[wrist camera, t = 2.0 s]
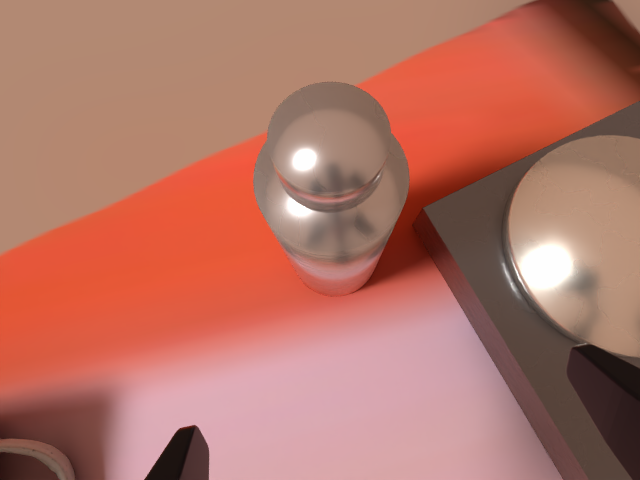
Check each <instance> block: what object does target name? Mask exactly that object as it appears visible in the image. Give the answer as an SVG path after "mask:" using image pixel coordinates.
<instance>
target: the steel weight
mask: <svg viewBox="0 0 640 480" xmlns="http://www.w3.org/2000/svg"><path fill="white" fill-rule="evenodd" d="M253 184H254V193H255V197H256V201H257V203H258V206H259V209H260V211H261V212H262V214H263V216H264V218H265V219H266V221H267V223H268V225H269V226H270V228H271V230H272V231H273V233H274V235H275V237H276V238H277V240H278V242H279V244H280V245H281V247H282V249H283V250H284V252H285V254H286V256H287V257H288V259H289V261H290V263H291V264H292V266H293V268H294V269H295V271H296V273H297V275H298V276H299V278H300V279H301V281H302V282H303V283H304V284H305V285H306V286H307V287H308V288H310V289H311V290H313V291H315V292H317V293H319V294H322V295H325V296H344V295H348V294H350V293H353V292H355V291H356V290H358V289H360V288H361V287H362V286H363V285H364V284H365V283H366V282H367V281H368V280H369V278H370V277H371V275H372V273H373V271H374V269H375V267H376V265H377V263H378V261H379V258H380V256H381V254H382V252H383V250H384V248H385V245H386V243H387V241H388V239H389V237H390V235H391V232H392V230H393V228H394V226H395V224H396V222H397V220H398V217H399V215H400V213H401V211H402V209H403V206H404V204H405V201H406V198H407V194H408V190H409V168H408V163H407V159H406V157H405V154H404V151H403V149H402V148H401V146H400V144H399V142H398V141H397V140H396V138H395V137H394V135H393V134H392V133H391V128H390V124H389V120H388V118H387V115H386V113H385V111H384V110H383V108H382V107H381V105H380V104H379V103H378V102H377V101H376V100H375V99H374V98H373V97H372V96H371V95H370V94H368V93H367V92H365V91H363V90H362V89H360V88H357V87H355V86H352V85H349V84H345V83H339V82H322V83H316V84H312V85H308V86H306V87H303V88H301V89H299V90H297V91H295V92H294V93H292V94H291V95H289V96H288V97H287V98H286V99H285V100H284V101H283V102H282V103H281V104H280V105H279V106H278V108H277V109H276V111H275V112H274V114H273V116H272V118H271V121H270V124H269V127H268V133H267V141H266V142H265V144H264V145H263V147H262V149H261V151H260V153H259V155H258V158H257V161H256V164H255V169H254V180H253Z"/></svg>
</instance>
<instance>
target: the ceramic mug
mask: <svg viewBox="0 0 640 480" xmlns="http://www.w3.org/2000/svg"><path fill="white" fill-rule="evenodd" d="M0 452H7V453H16V454H21V455H27V456H31V457H34V458H36V459H38V460H39V461H41V462H42V463H44V464H45V465H47V466H48V468H49V469H50V470H52V471H53V472H55V473H56V475H57V477H58V478H59V479H60V480H75V473H74V470H73V468H72V465H71V463H70V461H69V459H68V458H67V457H66V456H65V455H64V454H63V453H61V452H60V451H59V450H58V449H57V448H55V447H54V446H51V445H49V444H46V443H43V442H40V441H35V440H28V439H12V438H10V439H0Z"/></svg>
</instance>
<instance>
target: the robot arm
mask: <svg viewBox="0 0 640 480" xmlns="http://www.w3.org/2000/svg"><path fill="white" fill-rule="evenodd" d="M566 374H567V377H568V379H569V381H570V383H571V385H572V387H573V388H574V390H575V392H576V393H577V395H578V397H579V398H580V400H581V402H582V404H583V405H584V407H585V409H586V410H587V412H588V414H589V415H590V417H591V419H592V421H593V422H594V424H595V426H596V427H597V429H598V431H599V432H600V434H601V436H602V437H603V439H604V441H605V442H606V444H607V445H608V447H609V448H610V449H611V451H612V452H613V454H614V455H615V457H616V458H617V459H618V461H619V462H620V463H621V465H622V466H623V468H624V469H625V470H626V472H627V473H628V475H629V476H630V477H631V479H632V480H640V368H639V367H637V366H635V365H633V364H631V363H629V362H627V361H625V360H623V359H621V358H619V357H617V356H615V355H613V354H611V353H609V352H607V351H605V350H603V349H601V348H599V347H597V346H595V345H592V344H583V345H578V346H574V347H572V348H571V350H570V354H569V358H568V363H567V368H566ZM144 480H209V448H208V445H207V443H206V441H205V439H204V437H203V435H202V433H201V431H200V430H199V428H198V427H197V426H196V425H192V426H188V427H183V428H180V429H179V430H177V432H176V433H175V434H174V436H173V437H172V439H171V440H170V442H169V443H168V445H167V446H166V448H165V449H164V451H163V452H162V454H161V455H160V457H159V458H158V460H157V461H156V463H155V464H154V466H153V467H152V469H151V470H150V472H149V473H148V475H147V476H146V478H145V479H144Z"/></svg>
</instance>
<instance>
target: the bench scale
mask: <svg viewBox="0 0 640 480" xmlns="http://www.w3.org/2000/svg"><path fill="white" fill-rule="evenodd" d="M413 227H414V229H415V230H416V232H417V234H418V235H419V237H420V239H421V240H422V242H423V244H424V245H425V247H426V249H427V250H428V252H429V254H430V256H431V257H432V259H433V261H434V262H435V264H436V266H437V267H438V269H439V271H440V272H441V274H442V276H443V277H444V279H445V281H446V282H447V284H448V286H449V288H450V289H451V291H452V293H453V294H454V296H455V298H456V299H457V301H458V303H459V304H460V306H461V308H462V309H463V311H464V313H465V314H466V316H467V318H468V320H469V321H470V323H471V325H472V326H473V328H474V330H475V331H476V333H477V335H478V336H479V338H480V340H481V341H482V343H483V345H484V346H485V348H486V350H487V352H488V353H489V355H490V357H491V358H492V360H493V362H494V363H495V365H496V367H497V368H498V370H499V372H500V373H501V375H502V377H503V378H504V380H505V382H506V384H507V385H508V387H509V389H510V390H511V392H512V394H513V395H514V397H515V399H516V400H517V402H518V404H519V405H520V407H521V409H522V410H523V412H524V414H525V416H526V417H527V419H528V421H529V422H530V424H531V426H532V427H533V429H534V431H535V432H536V434H537V436H538V437H539V439H540V441H541V442H542V444H543V446H544V448H545V449H546V451H547V453H548V454H549V456H550V458H551V459H552V461H553V463H554V464H555V466H556V468H557V469H558V471H559V473H560V474H561V476H562V478H563V480H632V479H631V477H630V476H629V475H628V473H627V472H626V470H625V469H624V468H623V466H622V465H621V463H620V462H619V461H618V459H617V458H616V457H615V455H614V454H613V452H612V451H611V449H610V448H609V447H608V445H607V444H606V442H605V441H604V439H603V437H602V436H601V434H600V432H599V431H598V429H597V427H596V426H595V424H594V422H593V421H592V419H591V417H590V415H589V414H588V412H587V410H586V409H585V407H584V405H583V404H582V402H581V400H580V398H579V397H578V395H577V393H576V392H575V390H574V388H573V387H572V385H571V383H570V381H569V379H568V377H567V374H566V368H567V363H568V358H569V354H570V350H571V348H572V347H574V346H578V345H583V344H592V345H595V346H597V347H599V348H601V349H603V350H605V351H607V352H609V353H611V354H613V355H615V356H617V357H619V358H621V359H623V360H625V361H627V362H629V363H631V364H633V365H635V366H637V367H639V368H640V101H638V102H636V103H634V104H632V105H630V106H628V107H626V108H624V109H622V110H620V111H618V112H616V113H614V114H612V115H610V116H608V117H606V118H604V119H602V120H600V121H598V122H596V123H594V124H592V125H590V126H588V127H586V128H584V129H582V130H580V131H578V132H576V133H573V134H571V135H569V136H567V137H565V138H563V139H561V140H559V141H557V142H555V143H553V144H551V145H549V146H547V147H545V148H543V149H541V150H539V151H537V152H535V153H533V154H531V155H529V156H527V157H525V158H523V159H521V160H519V161H517V162H515V163H513V164H511V165H509V166H507V167H505V168H503V169H501V170H498V171H496V172H494V173H492V174H490V175H488V176H486V177H484V178H482V179H480V180H478V181H476V182H474V183H472V184H470V185H468V186H466V187H464V188H462V189H460V190H458V191H456V192H454V193H452V194H450V195H448V196H446V197H444V198H442V199H440V200H438V201H436V202H434V203H432V204H430V205H428V206H426V207H423V208H422V210H421V212H420V213H419V215H418V217H417V218H416V220H415V221H414V223H413Z"/></svg>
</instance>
